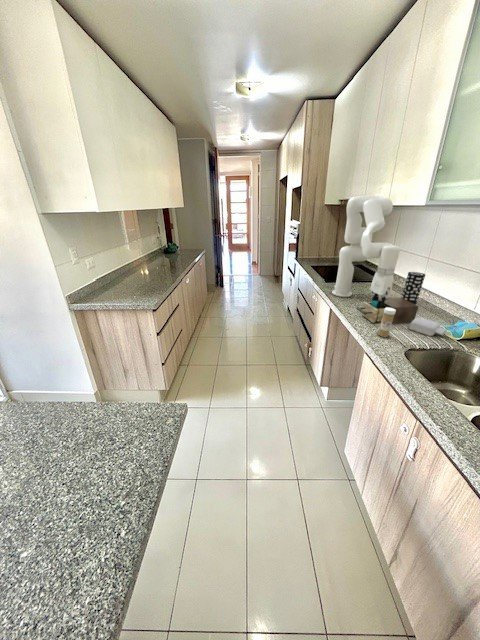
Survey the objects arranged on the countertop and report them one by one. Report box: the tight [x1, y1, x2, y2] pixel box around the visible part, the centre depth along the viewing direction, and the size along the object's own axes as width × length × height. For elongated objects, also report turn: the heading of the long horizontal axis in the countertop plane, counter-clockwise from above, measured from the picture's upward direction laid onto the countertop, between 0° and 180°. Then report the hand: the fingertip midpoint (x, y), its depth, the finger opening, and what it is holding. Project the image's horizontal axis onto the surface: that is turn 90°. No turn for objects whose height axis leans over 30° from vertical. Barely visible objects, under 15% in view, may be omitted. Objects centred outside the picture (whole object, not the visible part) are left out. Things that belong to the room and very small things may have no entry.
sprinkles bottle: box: [377, 307, 396, 338], centre depth 119 cm, size 5×5×14 cm
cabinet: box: [378, 297, 419, 325], centre depth 138 cm, size 15×13×9 cm
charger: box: [409, 316, 451, 337], centre depth 124 cm, size 5×9×15 cm
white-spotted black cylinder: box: [400, 271, 426, 305], centre depth 151 cm, size 8×8×20 cm
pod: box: [371, 299, 382, 311], centre depth 135 cm, size 4×4×5 cm
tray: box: [356, 301, 390, 324], centre depth 136 cm, size 18×11×7 cm, turn 99°
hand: (376, 305), depth 135 cm, fingers closed on pod, 4 cm apart
